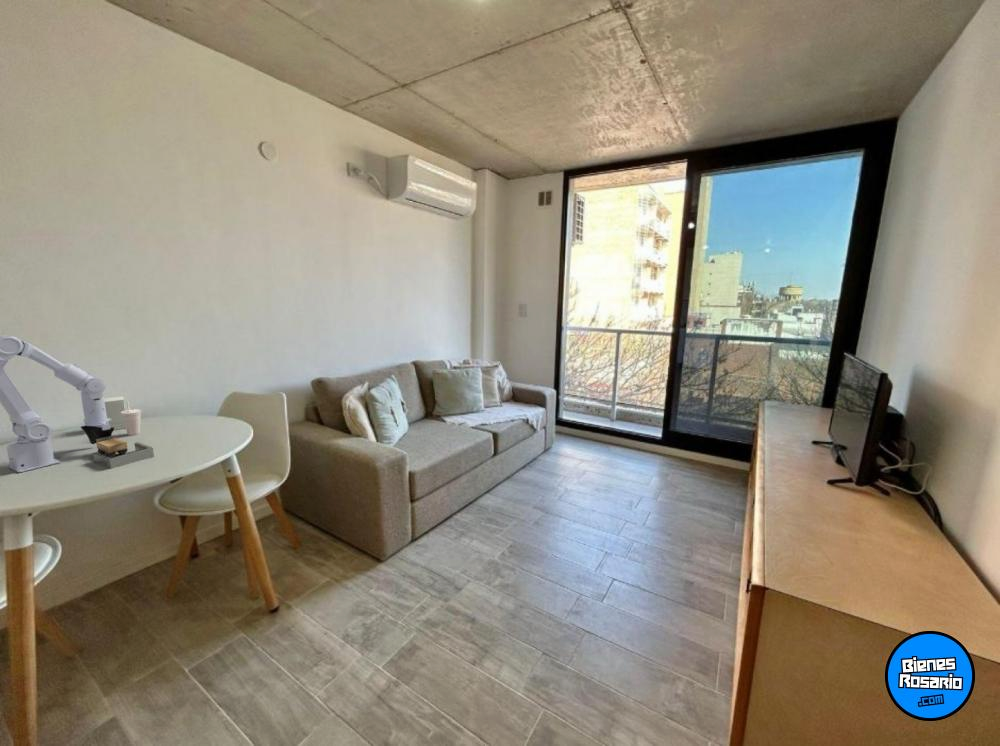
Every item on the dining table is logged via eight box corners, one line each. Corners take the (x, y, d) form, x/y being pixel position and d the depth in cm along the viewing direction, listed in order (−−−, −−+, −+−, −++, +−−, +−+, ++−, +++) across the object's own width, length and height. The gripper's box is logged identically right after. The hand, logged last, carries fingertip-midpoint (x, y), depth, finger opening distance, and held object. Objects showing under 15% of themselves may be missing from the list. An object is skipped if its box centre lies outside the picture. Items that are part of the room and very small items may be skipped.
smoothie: (120, 434, 165) (115, 401, 162) (140, 430, 170) (135, 398, 168) (127, 437, 162) (123, 403, 159) (147, 433, 168) (143, 400, 165)
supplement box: (127, 428, 172) (123, 399, 170) (103, 431, 167) (99, 402, 165) (127, 423, 178) (123, 396, 175) (103, 427, 173) (99, 398, 170)
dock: (110, 468, 134) (108, 459, 134) (94, 461, 139) (92, 453, 138) (154, 456, 145) (153, 447, 145) (138, 450, 150) (137, 442, 149)
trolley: (107, 459, 141) (105, 444, 140) (96, 454, 145) (94, 439, 144) (129, 453, 147) (127, 438, 146) (118, 448, 150) (116, 434, 149)
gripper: (118, 410, 147) (123, 445, 150) (99, 404, 153) (104, 438, 156) (93, 414, 141) (98, 451, 144) (74, 408, 147) (79, 443, 150)
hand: (100, 445), depth 149 cm, fingers open, 7 cm apart
